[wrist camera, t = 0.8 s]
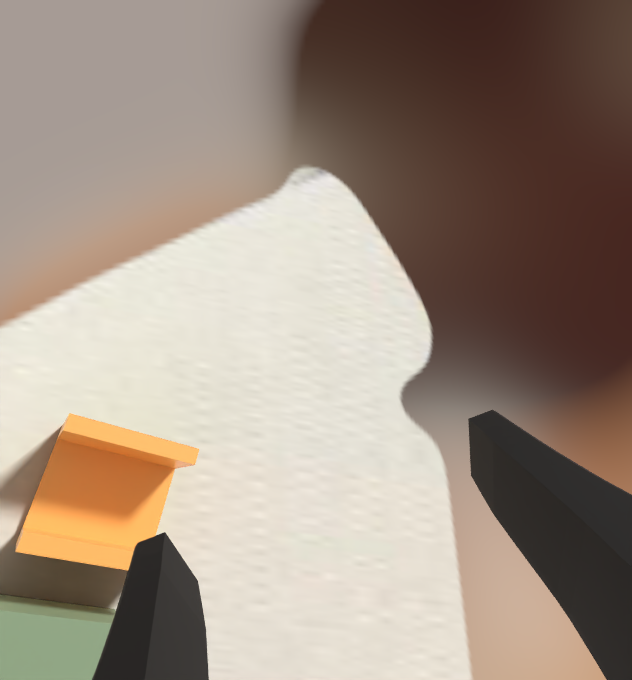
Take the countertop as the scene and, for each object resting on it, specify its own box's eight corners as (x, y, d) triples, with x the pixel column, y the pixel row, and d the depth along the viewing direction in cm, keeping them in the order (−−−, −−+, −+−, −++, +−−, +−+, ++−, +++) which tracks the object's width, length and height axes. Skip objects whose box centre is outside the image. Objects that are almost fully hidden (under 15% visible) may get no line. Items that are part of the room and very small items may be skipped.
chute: (143, 565, 24) (163, 576, 20) (15, 543, 22) (15, 551, 18) (175, 455, 26) (199, 449, 22) (62, 425, 24) (69, 413, 20)
